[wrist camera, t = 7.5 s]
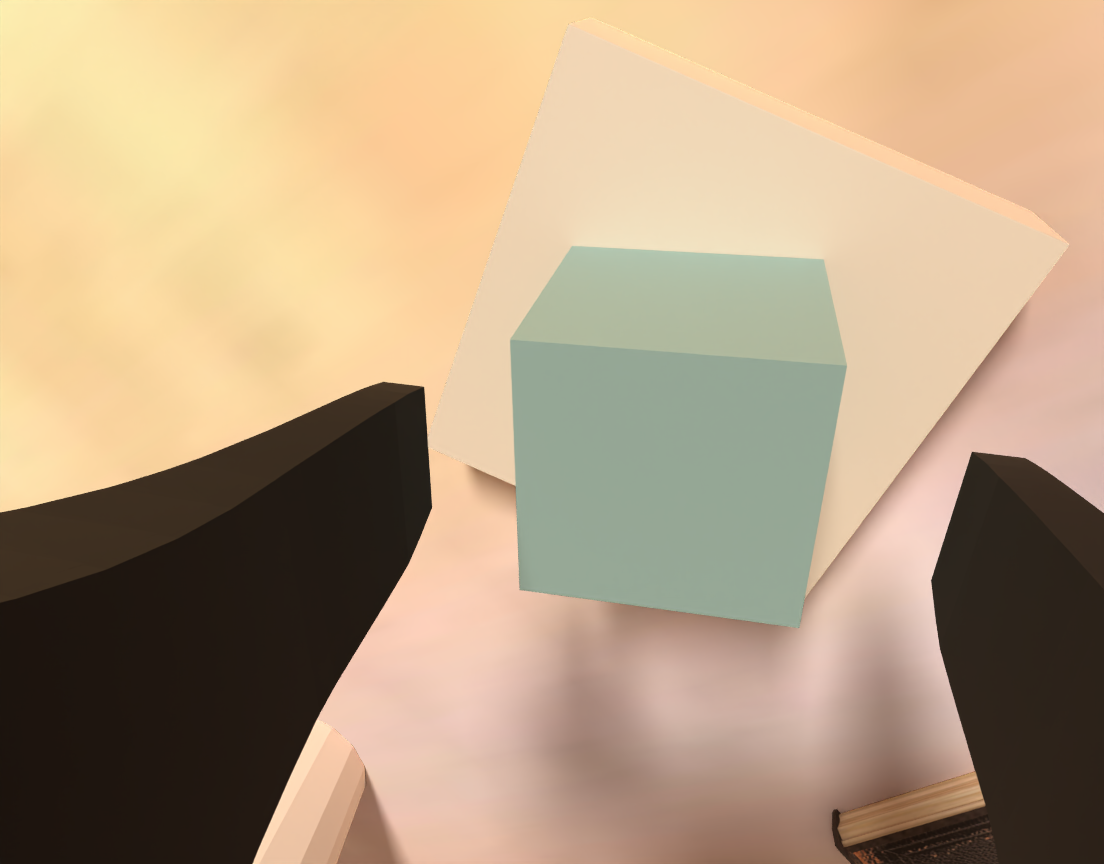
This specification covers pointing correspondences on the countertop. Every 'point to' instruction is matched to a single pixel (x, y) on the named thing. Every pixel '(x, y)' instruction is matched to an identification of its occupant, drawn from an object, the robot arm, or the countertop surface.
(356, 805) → the white tapered cup
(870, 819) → the hardcover book
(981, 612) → the robot arm
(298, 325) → the countertop surface
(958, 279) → the cream block
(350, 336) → the countertop surface
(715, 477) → the teal block
